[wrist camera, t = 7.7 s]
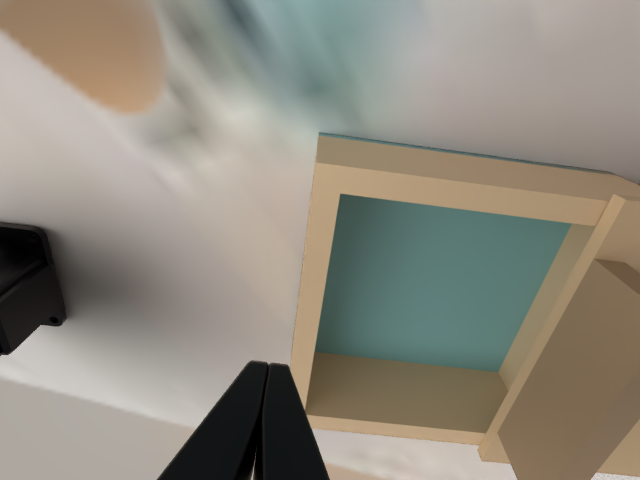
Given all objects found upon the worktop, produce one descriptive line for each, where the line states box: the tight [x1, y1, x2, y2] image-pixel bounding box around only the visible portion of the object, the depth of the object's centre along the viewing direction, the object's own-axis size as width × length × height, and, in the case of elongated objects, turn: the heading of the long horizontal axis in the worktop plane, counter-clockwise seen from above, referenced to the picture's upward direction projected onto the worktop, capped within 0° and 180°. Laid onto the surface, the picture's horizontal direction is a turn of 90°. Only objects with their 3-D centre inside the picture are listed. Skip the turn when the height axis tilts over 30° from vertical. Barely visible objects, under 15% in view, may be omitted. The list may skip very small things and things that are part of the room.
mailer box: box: [290, 133, 640, 445], centre depth 18 cm, size 14×14×5 cm
